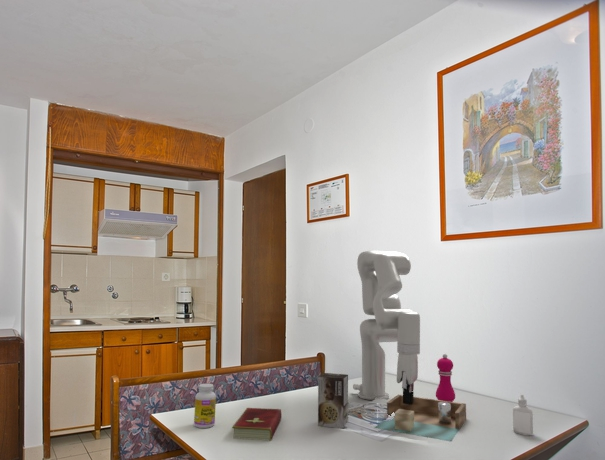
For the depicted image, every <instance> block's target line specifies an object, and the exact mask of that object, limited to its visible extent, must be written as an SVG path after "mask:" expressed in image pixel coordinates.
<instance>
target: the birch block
mask: <svg viewBox="0 0 605 460" xmlns="http://www.w3.org/2000/svg"><path fill="white" fill-rule="evenodd" d="M413 428H414V411H411V410H404V409H398V410H397V411H396V412H395V429H400V430H406V431H411V430H412V429H413Z"/></svg>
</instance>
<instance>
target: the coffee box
mask: <svg viewBox="0 0 605 460" xmlns="http://www.w3.org/2000/svg"><path fill="white" fill-rule="evenodd" d="M317 384H318V385H317V391H318V392H317V395H318V396H317V397H318V398H317V400H318V401H317V426H318V427H326V428H334V429H335V428H336V429H342V430H343V429H345V428H346V424H348V422H349V374H345V373H344V374H343V373H331V372H322V373H321V374H320V375H319V376H317Z"/></svg>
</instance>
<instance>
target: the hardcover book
mask: <svg viewBox="0 0 605 460" xmlns="http://www.w3.org/2000/svg"><path fill="white" fill-rule="evenodd" d="M282 417H283V415H282V409H281V408H266V407H265V408H261V407H260V408H259V407H246V408H245V410H244V411H243V412H242V413H241V415H240V416H239V417H238V419H237V420H236V422H235V423H233V425H232V427H231V429H233V439H237V440H252V441H253V440H257V441H270V442H271V441H272V440H273V437H274V436H275V433H276V431H277V429H278V427H279V425H280V422H281V421H282Z"/></svg>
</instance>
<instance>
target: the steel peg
mask: <svg viewBox="0 0 605 460" xmlns="http://www.w3.org/2000/svg"><path fill="white" fill-rule="evenodd" d="M438 414H439V423H442V424H450V423H451V404H450V403H448V402H439V403H438Z"/></svg>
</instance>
